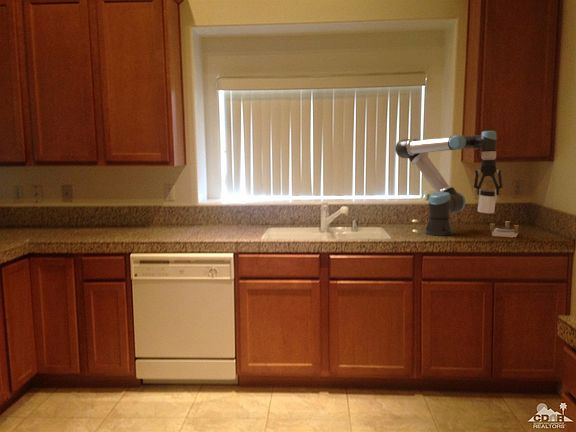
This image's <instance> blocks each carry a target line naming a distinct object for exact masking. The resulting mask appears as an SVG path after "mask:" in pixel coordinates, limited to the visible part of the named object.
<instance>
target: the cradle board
mask: <svg viewBox="0 0 576 432" xmlns="http://www.w3.org/2000/svg"><path fill="white" fill-rule="evenodd" d="M504 222H505V225H504V226H505V227H504V228H498V227H496V228H495V225H496V224H495V223H490V224H489V225H490V226H489V227H490V229H489V232H491V236H492V237H501V238H502V237H504V238H513V237H515V238H517V236H518V235H519V226H520V225H519V224H517V225H516V224H513V227H514V228H513V229H510V223H511V221H510V220H509V221H508V220H507V221H504Z"/></svg>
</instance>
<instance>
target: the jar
mask: <svg viewBox="0 0 576 432" xmlns="http://www.w3.org/2000/svg"><path fill="white" fill-rule="evenodd" d="M496 202H497V201H495V190H490V189H489V190H488V189H482V190H481V191H480V201H479V200H478V204H477V205H478V206H477V212H479V213H482V214H483V213H484V214H495V208H496Z"/></svg>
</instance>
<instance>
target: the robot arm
mask: <svg viewBox="0 0 576 432" xmlns="http://www.w3.org/2000/svg"><path fill="white" fill-rule="evenodd" d="M497 139H498V137H497V131H495V130H483V131H482V132H481V134H479V135H459V134H456V135H453V136H452V135H451V136H444V137H437V138H427V139H420V138H403V139H400V140H399V141H397V143H396V144H395V149H394V150H395V153H396V155H397V156H398V157H400V158H402V159H409V162H411V164H412V165H415V166H416V167H417V168H418V170H419V171H420V173H422V176H424V178H425V180H426V181H427V182H428V184H429V185H430V186H431V188H432V189H433V191H434V192H432V193H431V194H429V197H428V219H427V220H428V221H427V223H426V226H425V229H424V234H426V235H431V236H450V235H453V228H452V225H451V222H450V220H451V219H450V217H451V216H450V215H451V214H457V213H460V212H462V211H463V209H464V208H465V206H466V198H465V196H464V195H463V193H460V192H457V190H456V189H455V187H453V186H450V185H449V183H447V181H446V179H445V178H444V176H443V175H442V173H440V171H439V169H438V168H437V167H436V166H435V164H434V163H433V162H432V160H431V159H430V157H429V153H434V152H435V153H436V152H437V153H438V152H446V151H457V150H459V151H460V150H481V157H480V158H481V166H480V169H476V170H475V179H474V184H473V188H474V189H477V190H476V191H477V192H476V194H477V195H478V202H479V201H480V191H481V190H483V189H482V188H481V187H482V186H483V183H484V181H485V178H486V177H491V179H492V181H493V183H494V186H495V189H494V191H495V201H496V202H497V201H498V196H499V195H500V189H502V188H503V187H504V185H503V184H504V183H503V177H502V172H503V170H502V169H497V160H496V159H497ZM480 173H481V174H482V175H481V178H480V181H479V177H480ZM495 174H497V175H498V177H496V176H495ZM497 178H498V181H497Z"/></svg>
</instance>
